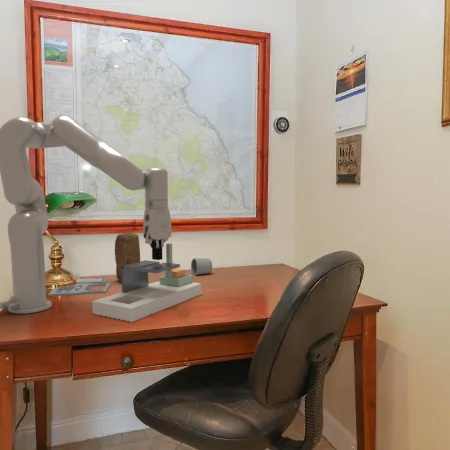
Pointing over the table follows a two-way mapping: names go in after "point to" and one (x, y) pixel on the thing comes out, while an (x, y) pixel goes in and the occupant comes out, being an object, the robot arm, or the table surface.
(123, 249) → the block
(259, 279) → the table surface
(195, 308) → the table surface
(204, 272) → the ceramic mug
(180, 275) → the orange block
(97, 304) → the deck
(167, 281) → the green peg stand
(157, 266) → the grey overhanging bracket
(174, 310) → the table surface
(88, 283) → the blue-grey slotted plate
